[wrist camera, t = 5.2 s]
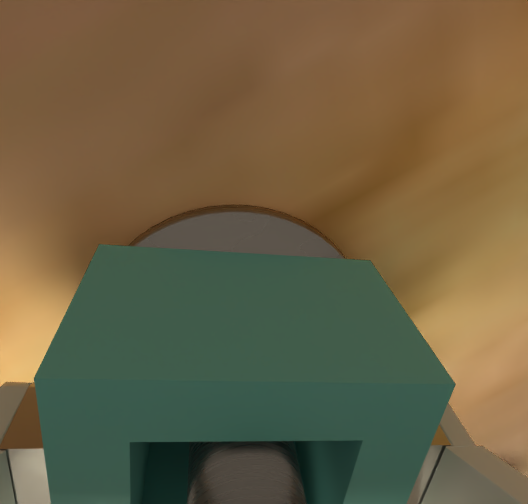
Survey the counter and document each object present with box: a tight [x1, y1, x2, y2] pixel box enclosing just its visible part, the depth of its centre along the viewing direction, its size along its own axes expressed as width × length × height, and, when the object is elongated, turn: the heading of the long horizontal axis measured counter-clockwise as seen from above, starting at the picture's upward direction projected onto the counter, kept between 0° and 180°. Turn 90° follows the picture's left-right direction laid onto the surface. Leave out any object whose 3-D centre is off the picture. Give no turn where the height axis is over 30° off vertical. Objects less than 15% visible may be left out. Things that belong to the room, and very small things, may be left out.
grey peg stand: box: [129, 205, 345, 504], centre depth 9 cm, size 7×7×6 cm
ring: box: [34, 244, 456, 504], centre depth 9 cm, size 6×6×4 cm
